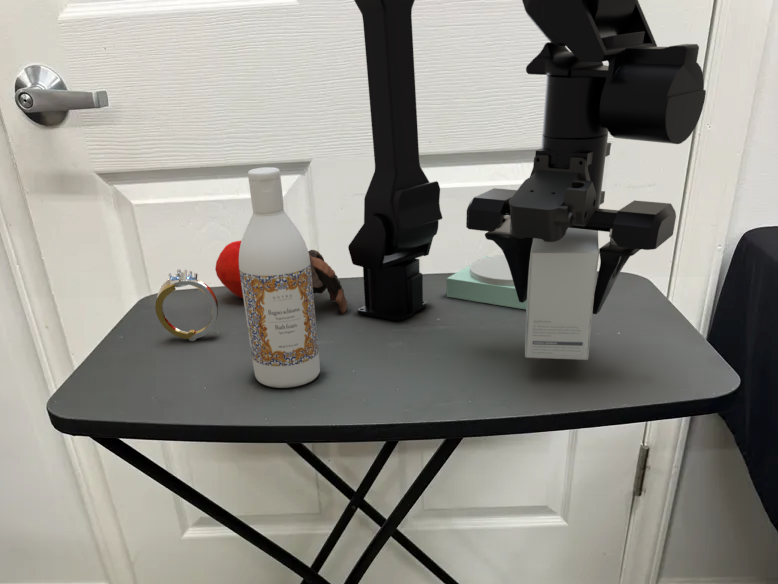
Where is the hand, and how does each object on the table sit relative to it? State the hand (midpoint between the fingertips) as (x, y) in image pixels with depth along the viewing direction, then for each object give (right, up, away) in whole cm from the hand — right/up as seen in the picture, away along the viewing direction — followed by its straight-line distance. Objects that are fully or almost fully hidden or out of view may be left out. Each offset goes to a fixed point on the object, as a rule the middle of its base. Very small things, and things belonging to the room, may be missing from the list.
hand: (558, 307), depth 78 cm
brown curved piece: (-27, +6, +21) cm, 35 cm away
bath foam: (-28, -6, +4) cm, 29 cm away
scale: (-1, +9, +23) cm, 24 cm away
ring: (-40, 0, +14) cm, 42 cm away
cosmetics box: (0, -3, +2) cm, 4 cm away
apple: (-35, +9, +26) cm, 44 cm away
